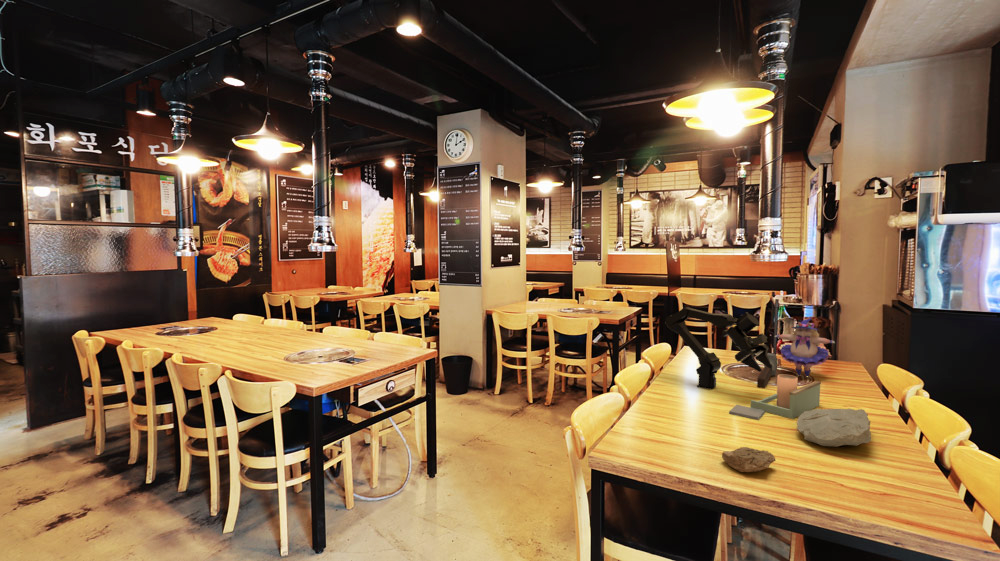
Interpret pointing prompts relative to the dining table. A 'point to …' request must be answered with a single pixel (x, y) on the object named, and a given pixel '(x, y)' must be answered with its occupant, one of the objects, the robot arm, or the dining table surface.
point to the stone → (835, 426)
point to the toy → (804, 347)
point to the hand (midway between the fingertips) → (766, 369)
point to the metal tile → (747, 412)
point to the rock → (748, 459)
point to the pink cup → (785, 389)
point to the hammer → (767, 371)
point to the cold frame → (793, 401)
